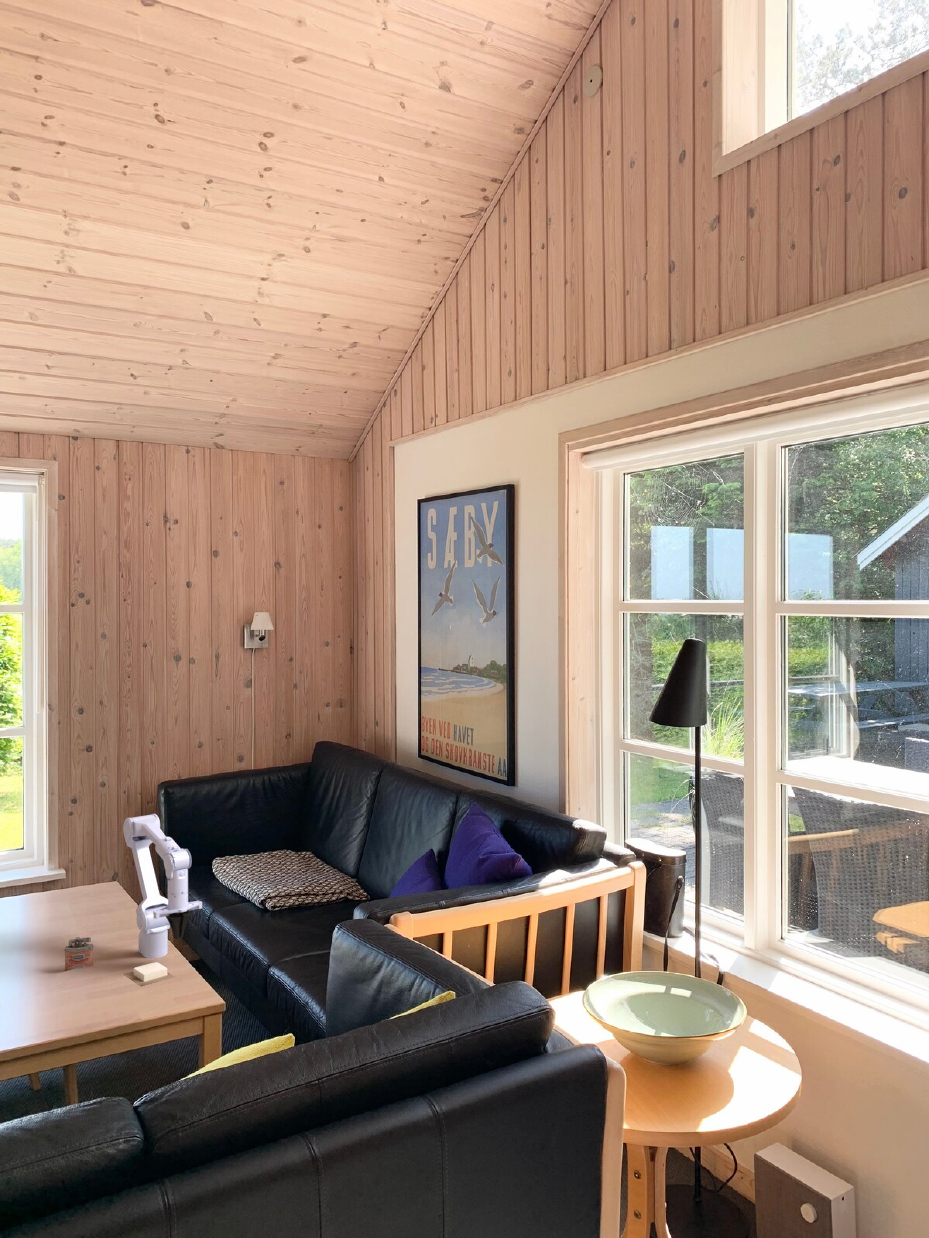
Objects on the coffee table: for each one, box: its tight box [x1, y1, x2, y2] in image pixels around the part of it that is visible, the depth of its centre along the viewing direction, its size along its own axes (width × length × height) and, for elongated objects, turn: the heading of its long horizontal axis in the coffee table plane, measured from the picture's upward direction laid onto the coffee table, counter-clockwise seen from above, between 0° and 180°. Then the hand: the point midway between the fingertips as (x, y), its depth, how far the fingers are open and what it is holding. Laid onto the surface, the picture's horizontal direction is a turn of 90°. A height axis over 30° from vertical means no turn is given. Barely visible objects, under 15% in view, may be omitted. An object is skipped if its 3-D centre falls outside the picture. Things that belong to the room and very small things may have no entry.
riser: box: [123, 970, 175, 987], centre depth 269 cm, size 12×10×2 cm
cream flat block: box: [133, 961, 168, 982], centre depth 269 cm, size 7×7×2 cm
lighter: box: [63, 936, 94, 972], centre depth 276 cm, size 8×3×10 cm, turn 105°
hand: (178, 937), depth 275 cm, fingers closed
